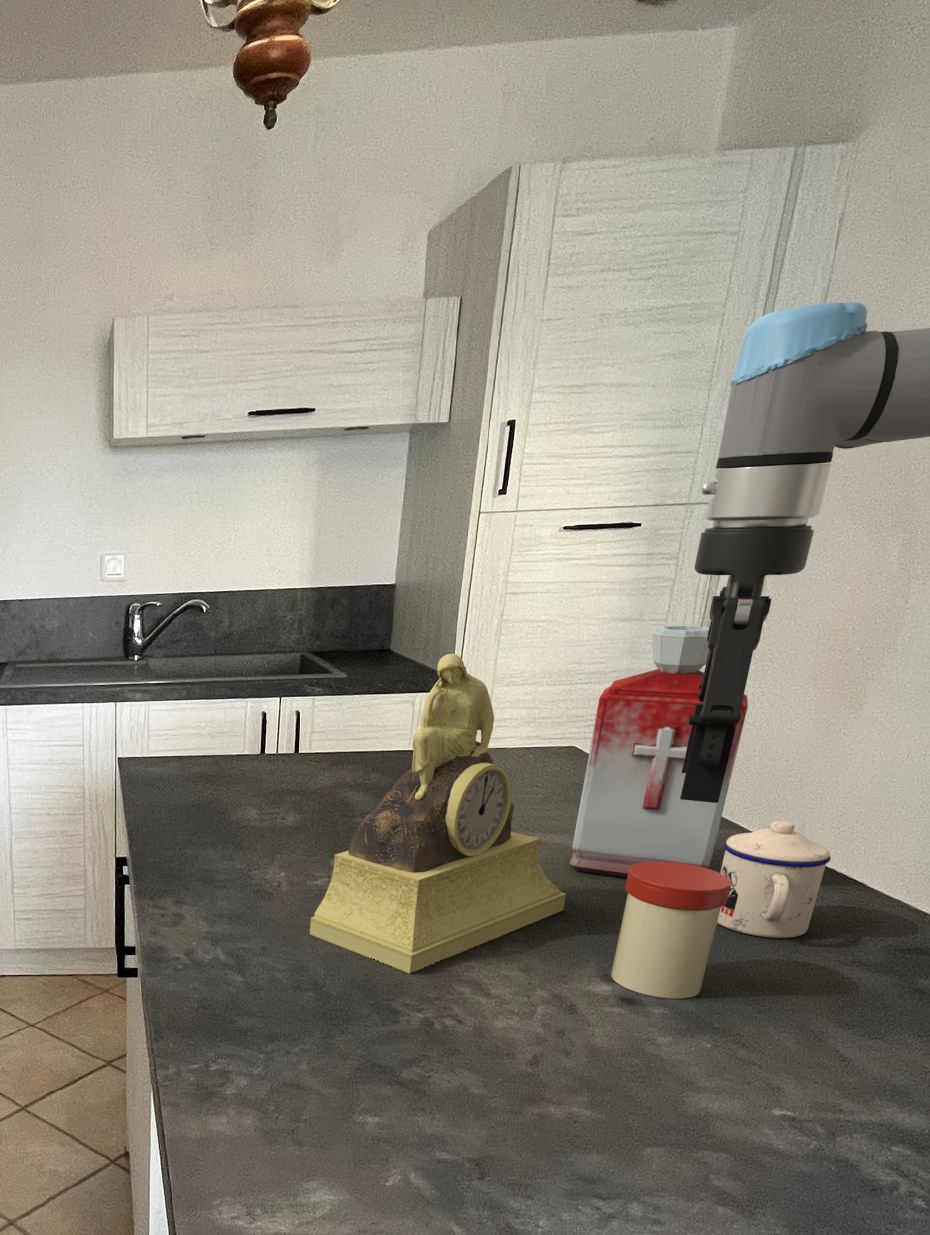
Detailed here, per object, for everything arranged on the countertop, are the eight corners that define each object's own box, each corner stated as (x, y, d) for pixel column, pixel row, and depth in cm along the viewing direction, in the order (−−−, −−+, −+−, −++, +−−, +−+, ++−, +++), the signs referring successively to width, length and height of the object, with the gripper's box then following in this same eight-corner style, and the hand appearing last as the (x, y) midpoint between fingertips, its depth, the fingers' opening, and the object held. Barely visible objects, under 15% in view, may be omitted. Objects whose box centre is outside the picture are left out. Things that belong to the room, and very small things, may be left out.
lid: (726, 888, 93) (731, 869, 93) (728, 915, 87) (733, 896, 86) (627, 874, 98) (631, 856, 97) (622, 900, 91) (626, 881, 91)
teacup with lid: (702, 904, 113) (725, 807, 109) (801, 915, 109) (828, 815, 105) (714, 942, 103) (740, 837, 99) (822, 956, 99) (854, 847, 95)
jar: (700, 975, 96) (724, 874, 93) (700, 1005, 91) (726, 899, 87) (613, 960, 100) (633, 862, 97) (608, 988, 95) (629, 886, 91)
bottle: (566, 873, 124) (610, 631, 113) (576, 851, 132) (618, 622, 121) (704, 893, 116) (765, 634, 106) (705, 868, 124) (763, 624, 113)
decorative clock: (409, 973, 99) (446, 674, 88) (309, 934, 109) (331, 662, 99) (563, 910, 113) (611, 645, 102) (461, 880, 123) (495, 636, 113)
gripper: (702, 522, 91) (654, 757, 99) (703, 528, 74) (645, 812, 82) (804, 519, 87) (745, 764, 95) (830, 525, 70) (756, 823, 78)
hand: (698, 786), depth 89 cm, fingers open, 10 cm apart
